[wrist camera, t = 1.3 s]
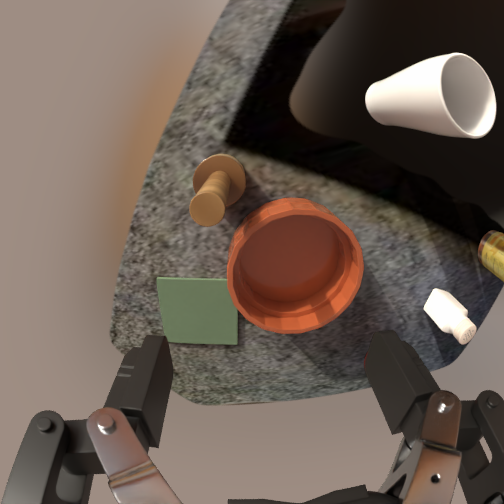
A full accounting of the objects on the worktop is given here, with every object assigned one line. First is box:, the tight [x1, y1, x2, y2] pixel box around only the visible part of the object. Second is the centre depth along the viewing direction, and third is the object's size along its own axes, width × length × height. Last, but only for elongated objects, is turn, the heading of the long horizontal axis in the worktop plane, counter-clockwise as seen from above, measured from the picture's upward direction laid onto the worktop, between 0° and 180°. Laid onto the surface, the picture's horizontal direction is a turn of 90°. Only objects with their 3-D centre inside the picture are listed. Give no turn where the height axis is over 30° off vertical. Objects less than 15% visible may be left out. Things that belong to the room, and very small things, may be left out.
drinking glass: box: [365, 53, 496, 138], centre depth 21 cm, size 7×7×15 cm
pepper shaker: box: [424, 288, 476, 344], centre depth 34 cm, size 4×4×10 cm
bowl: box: [227, 198, 364, 334], centre depth 32 cm, size 14×14×6 cm
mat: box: [157, 277, 238, 345], centre depth 37 cm, size 10×10×1 cm
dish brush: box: [190, 154, 246, 227], centre depth 24 cm, size 5×5×14 cm
